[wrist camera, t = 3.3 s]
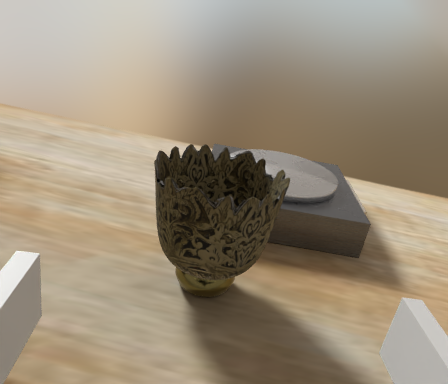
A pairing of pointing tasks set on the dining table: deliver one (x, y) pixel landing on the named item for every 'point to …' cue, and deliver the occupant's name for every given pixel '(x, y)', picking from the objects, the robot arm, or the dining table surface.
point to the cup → (214, 214)
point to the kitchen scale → (313, 205)
